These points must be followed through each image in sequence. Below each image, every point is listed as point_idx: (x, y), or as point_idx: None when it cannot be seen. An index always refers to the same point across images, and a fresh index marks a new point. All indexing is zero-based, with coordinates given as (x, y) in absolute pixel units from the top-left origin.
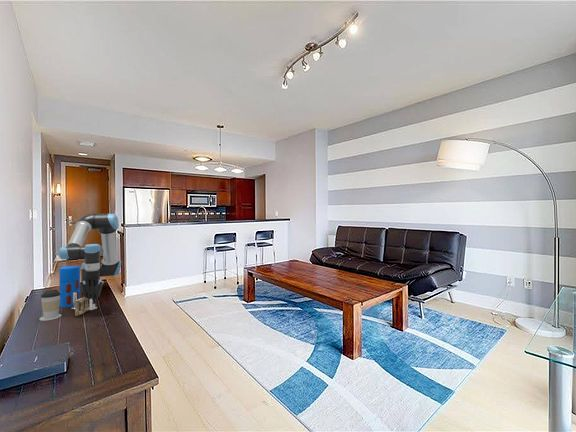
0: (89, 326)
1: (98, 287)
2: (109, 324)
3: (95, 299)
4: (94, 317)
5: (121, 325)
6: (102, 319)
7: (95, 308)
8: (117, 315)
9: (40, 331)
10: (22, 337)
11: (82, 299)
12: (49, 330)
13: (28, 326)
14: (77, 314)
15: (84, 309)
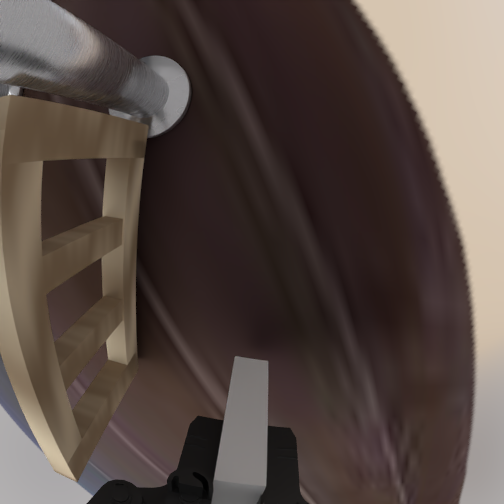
0: (315, 484)
1: None
2: (409, 464)
3: (289, 486)
4: (293, 383)
5: (453, 462)
6: (367, 420)
7: (182, 113)
8: (456, 354)
9: (108, 473)
10: (97, 489)
11: (54, 408)
12: (137, 478)
13: (10, 399)
14: (133, 376)
15: (120, 283)
